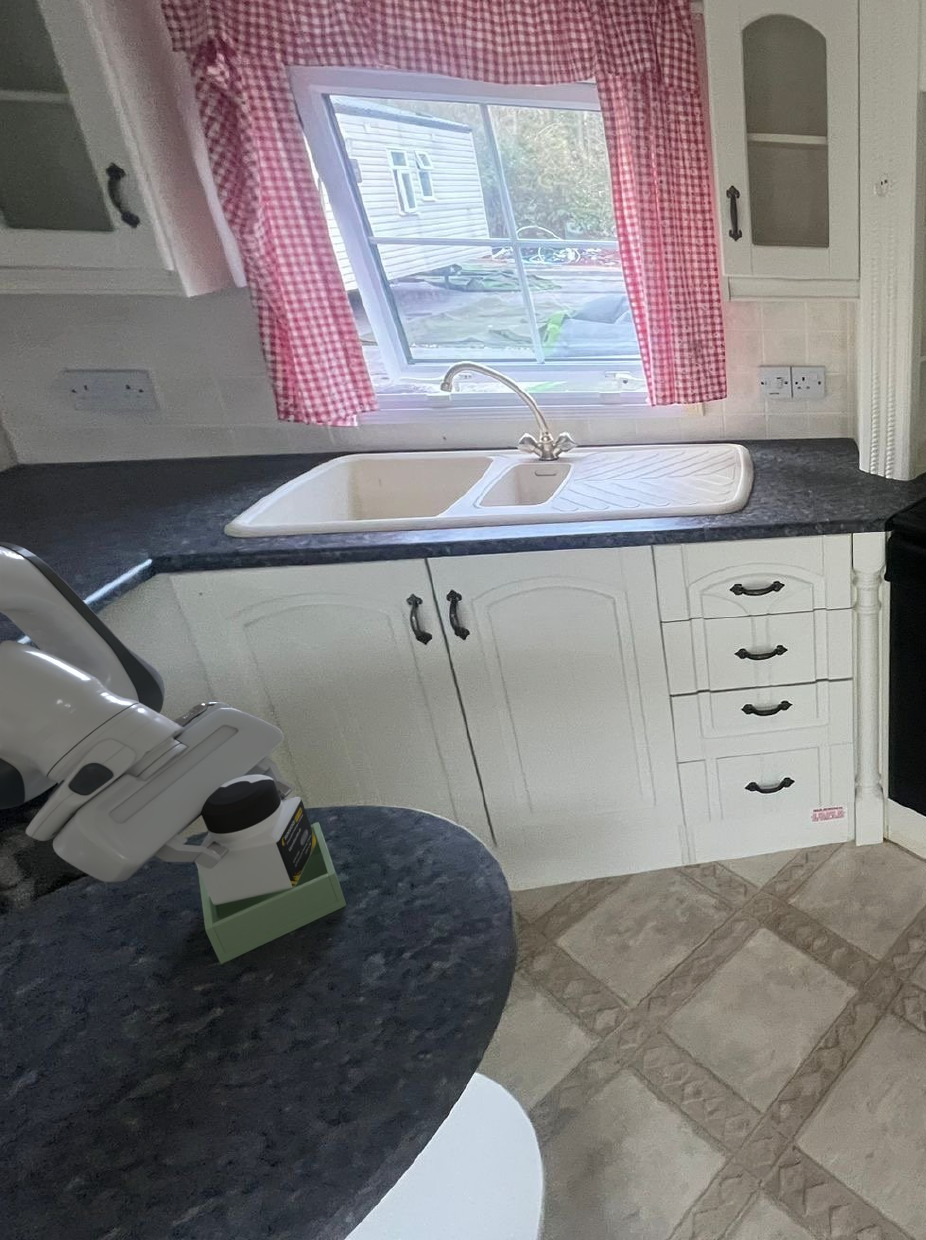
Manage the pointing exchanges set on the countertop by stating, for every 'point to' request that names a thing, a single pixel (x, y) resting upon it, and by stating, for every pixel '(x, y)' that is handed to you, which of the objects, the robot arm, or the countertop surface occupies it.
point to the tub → (274, 907)
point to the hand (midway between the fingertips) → (255, 826)
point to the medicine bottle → (255, 839)
